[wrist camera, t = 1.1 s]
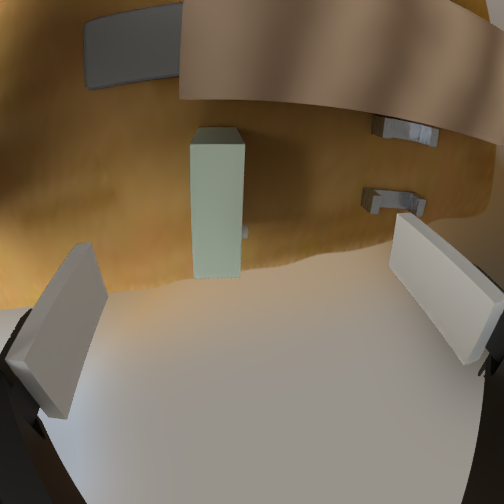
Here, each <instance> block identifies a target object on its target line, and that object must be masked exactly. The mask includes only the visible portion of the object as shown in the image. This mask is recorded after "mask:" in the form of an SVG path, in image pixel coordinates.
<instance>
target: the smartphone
mask: <svg viewBox="0 0 504 504" xmlns="http://www.w3.org/2000/svg"><path fill="white" fill-rule="evenodd" d="M182 12H183V3H177V4H169V5H161V6H155V7H149V8H143V9H137V10H132V11H127V12H122V13H118V14H113V15H109V16H105V17H101V18H97V19H93V20H90V21H88V22H87V23H86V24H85V26H84V71H85V87H86V88H88V89H89V90H96V89H101V88H106V87H111V86H116V85H122V84H128V83H134V82H140V81H147V80H154V79H162V78H170V77H179V69H180V45H181V27H182Z"/></svg>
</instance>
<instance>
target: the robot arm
mask: <svg viewBox="0 0 504 504" xmlns="http://www.w3.org/2000/svg"><path fill="white" fill-rule="evenodd" d="M388 267H389V268H390V269H391V271H392V272H393V273H394V274H395V275H396V277H397V278H398V279H399V280H400V281H401V283H402V284H403V285H404V286H405V288H406V289H407V290H408V291H409V293H410V294H411V295H412V296H413V297H414V299H415V300H416V301H417V302H418V304H419V305H420V306H421V308H422V309H423V310H424V311H425V313H426V314H427V315H428V317H429V318H430V319H431V321H432V322H433V323H434V325H435V326H436V327H437V329H438V330H439V331H440V333H441V334H442V336H443V337H444V338H445V340H446V341H447V342H448V344H449V345H450V347H451V348H452V349H453V351H454V352H455V353H456V355H457V356H458V358H459V359H460V361H461V362H462V364H463V365H467V364H470V363H472V362H475V361H477V360H479V358H480V356H481V354H482V353H483V351H484V349H485V348H486V349H487V350H488V351H489V355H488V357H487V359H486V360H485V362H484V364H483V365H482V367H481V369H480V371H479V373H478V376H480V375H481V374H482V372H483V371H484V370H485V375H484V377H485V383H484V394H483V403H482V411H481V418H480V425H479V432H478V437H477V442H476V448H475V453H474V457H473V462H472V466H471V470H470V474H469V478H468V483H467V486H466V490H465V493H464V496H463V500H462V503H461V504H504V290H503V289H502V288H501V287H500V286H499V285H498V284H496V282H493V280H492V279H491V278H490V277H489V276H487V274H486V273H485V272H484V271H483V270H482V269H480V268H479V267H478V266H476V265H474V264H473V263H471V262H470V261H469V260H467V259H466V258H465V257H464V256H463V255H462V254H461V253H459V252H458V251H457V250H456V249H455V248H453V246H451V245H450V244H449V243H448V242H447V241H445V240H444V239H443V238H442V237H441V236H439V235H438V234H437V233H436V232H435V231H433V230H432V229H431V228H430V227H428V226H427V225H426V224H425V223H423V222H422V221H421V220H420V219H418V218H417V217H416V216H415V215H413V214H412V213H397V217H396V224H395V231H394V237H393V243H392V249H391V255H390V260H389V265H388ZM107 298H108V294H107V291H106V288H105V285H104V282H103V279H102V276H101V273H100V270H99V267H98V263H97V260H96V257H95V254H94V250H93V247H92V244H91V242H89V243H82V244H76V245H75V246H74V247H73V249H72V250H71V252H70V253H69V254H68V256H67V257H66V259H65V260H64V262H63V263H62V264H61V266H60V267H59V269H58V270H57V272H56V273H55V275H54V276H53V278H52V279H51V281H50V282H49V284H48V285H47V287H46V288H45V290H44V292H43V293H42V295H41V296H40V298H39V300H38V301H37V303H36V304H35V306H34V308H33V309H30V310H28V311H27V312H26V313H25V314H24V315H23V316H22V317H21V318H20V320H19V322H18V323H17V325H16V327H15V330H13V332H12V334H11V338H9V339H8V341H7V343H6V344H5V346H4V348H3V350H2V352H1V354H0V504H87V503H86V502H85V500H84V498H83V497H82V495H81V494H80V492H79V491H78V489H77V487H76V486H75V484H74V482H73V481H72V479H71V477H70V476H69V474H68V472H67V470H66V469H65V467H64V465H63V463H62V461H61V460H60V458H59V456H58V454H57V452H56V450H55V448H54V446H53V444H52V442H51V440H50V438H49V436H48V434H47V431H46V429H45V427H44V425H43V423H42V421H41V420H40V418H39V417H38V416H37V414H38V411H39V408H41V409H42V410H43V411H44V412H45V414H46V415H47V416H48V417H51V418H58V419H67V418H68V414H69V411H70V407H71V404H72V400H73V397H74V393H75V390H76V387H77V383H78V380H79V377H80V374H81V370H82V367H83V364H84V361H85V358H86V355H87V352H88V349H89V347H90V343H91V341H92V338H93V335H94V332H95V330H96V327H97V324H98V322H99V319H100V316H101V314H102V311H103V309H104V306H105V303H106V301H107Z"/></svg>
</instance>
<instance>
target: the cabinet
mask: <svg viewBox="0 0 504 504" xmlns="http://www.w3.org/2000/svg"><path fill="white" fill-rule="evenodd" d="M198 99H228V100H259V101H276V102H289V103H301V104H311V105H320V106H328V107H336V108H344V109H350V110H357V111H363V112H369V113H375V114H381V115H386V116H391V117H396V118H401V119H406V120H410V121H415V122H419V123H423V124H428V125H432V126H436V127H440V128H443V129H447V130H451V131H454V132H458V133H461V134H465V135H468V136H472V137H475V138H478V139H481V140H484V141H487V142H490V143H493V144H496V145H500V146H502V147H503V143H504V32H503V31H502V30H500V29H499V28H497V27H496V26H494V25H493V24H491V23H489V22H488V21H486V20H484V19H483V18H481V17H479V16H478V15H476V14H474V13H472V12H470V11H469V10H467V9H465V8H463V7H461V6H459V5H457V4H455V3H453V2H451V1H449V0H183V12H182V27H181V45H180V69H179V100H198Z"/></svg>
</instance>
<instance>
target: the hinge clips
mask: <svg viewBox="0 0 504 504" xmlns="http://www.w3.org/2000/svg"><path fill="white" fill-rule="evenodd" d="M371 134H374V135H377V136H379V137H382V138H388V139H391V137H394V138H400V139H405V140H411V141H416V142H420V143H423V144H425V145H428V146H431V147H436V148H437V141H438V135H439V130H438V129H435V128H432V127H428V126H425V125H420V124H416V123H411V122H407V121H402V120H397V119H392V118H387V117H381V116H376V115H373V124H372V132H371ZM425 204H426V199H424V198H423V197H421V196H420V195H418V194H417V193H415V192H407V191H396V190H385V189H372V188H363V194H362V200H361V206H362V207H363V208H364V209H365V210H366V211H368V212H369V213H370V214H378V213H379V208H380V207H382V208H399V209H407V210H408V211H410V212H411V213H412V214H414V215H415V216H423V212H424V208H425Z"/></svg>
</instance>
